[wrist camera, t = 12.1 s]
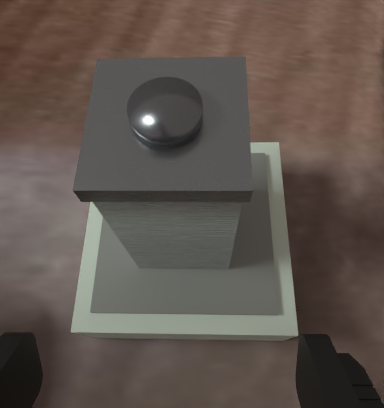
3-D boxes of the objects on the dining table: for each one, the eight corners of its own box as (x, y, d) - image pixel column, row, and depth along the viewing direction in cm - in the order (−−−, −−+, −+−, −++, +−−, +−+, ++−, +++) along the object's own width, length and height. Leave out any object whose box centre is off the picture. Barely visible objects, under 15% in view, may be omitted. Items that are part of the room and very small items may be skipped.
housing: (135, 271, 20) (65, 180, 10) (143, 186, 22) (92, 45, 12) (232, 272, 19) (255, 180, 10) (229, 186, 22) (247, 42, 12)
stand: (92, 337, 22) (68, 331, 18) (113, 173, 27) (98, 141, 24) (283, 340, 22) (299, 335, 18) (269, 172, 27) (279, 139, 23)
